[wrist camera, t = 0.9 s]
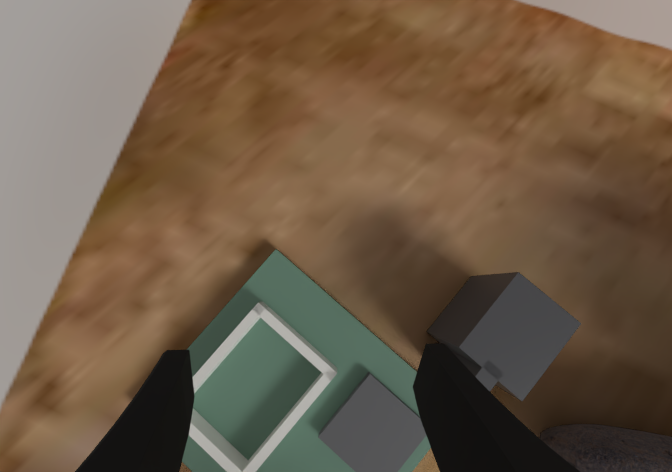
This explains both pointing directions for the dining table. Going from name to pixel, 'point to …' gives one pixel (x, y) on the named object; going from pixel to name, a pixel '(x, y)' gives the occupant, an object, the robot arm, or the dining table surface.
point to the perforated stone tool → (610, 448)
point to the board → (298, 386)
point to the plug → (504, 331)
